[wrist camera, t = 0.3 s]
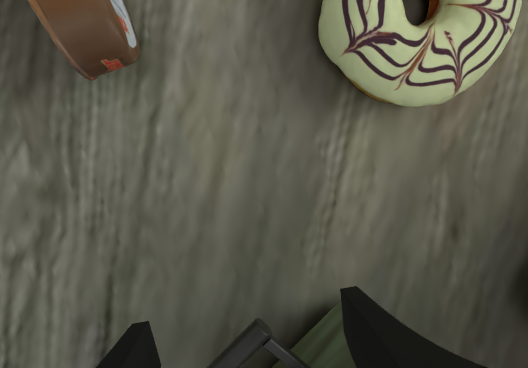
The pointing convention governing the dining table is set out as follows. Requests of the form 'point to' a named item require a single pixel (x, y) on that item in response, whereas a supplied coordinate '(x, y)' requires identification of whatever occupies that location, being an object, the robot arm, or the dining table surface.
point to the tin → (90, 33)
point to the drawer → (302, 354)
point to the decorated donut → (415, 46)
